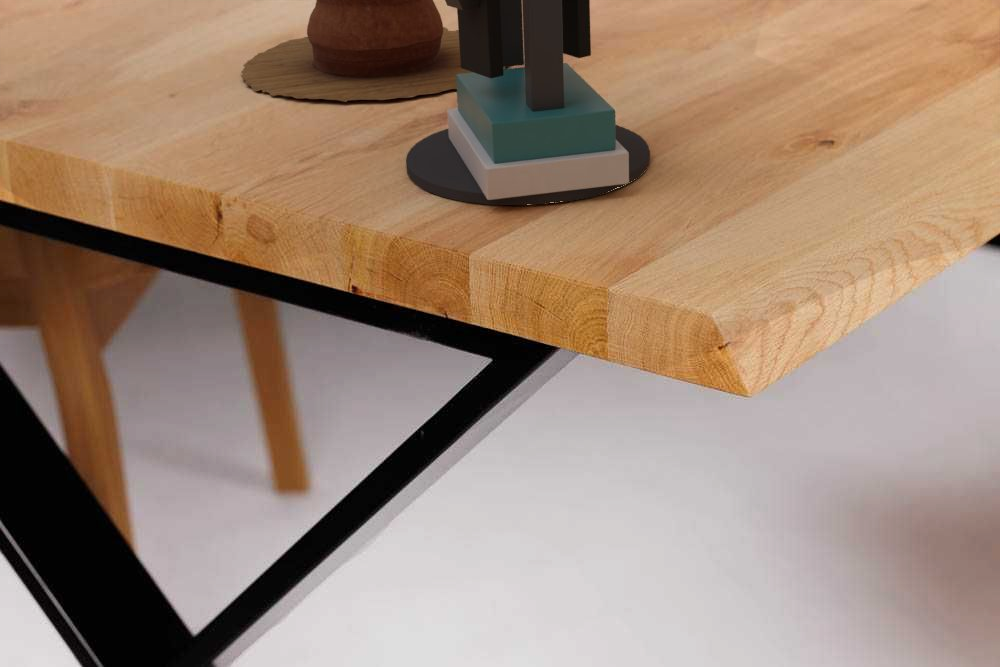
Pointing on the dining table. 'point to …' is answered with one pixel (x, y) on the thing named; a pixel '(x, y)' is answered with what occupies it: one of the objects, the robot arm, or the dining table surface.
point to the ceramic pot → (362, 53)
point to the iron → (535, 115)
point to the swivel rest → (449, 177)
